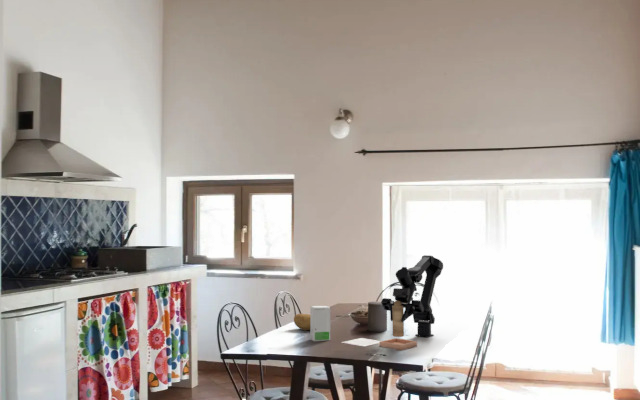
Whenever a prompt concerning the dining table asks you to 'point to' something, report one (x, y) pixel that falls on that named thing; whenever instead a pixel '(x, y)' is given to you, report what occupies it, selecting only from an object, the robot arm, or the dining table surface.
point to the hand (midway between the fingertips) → (396, 320)
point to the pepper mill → (397, 319)
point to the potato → (302, 321)
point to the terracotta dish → (398, 344)
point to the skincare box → (320, 323)
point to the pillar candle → (377, 317)
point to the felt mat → (362, 342)
